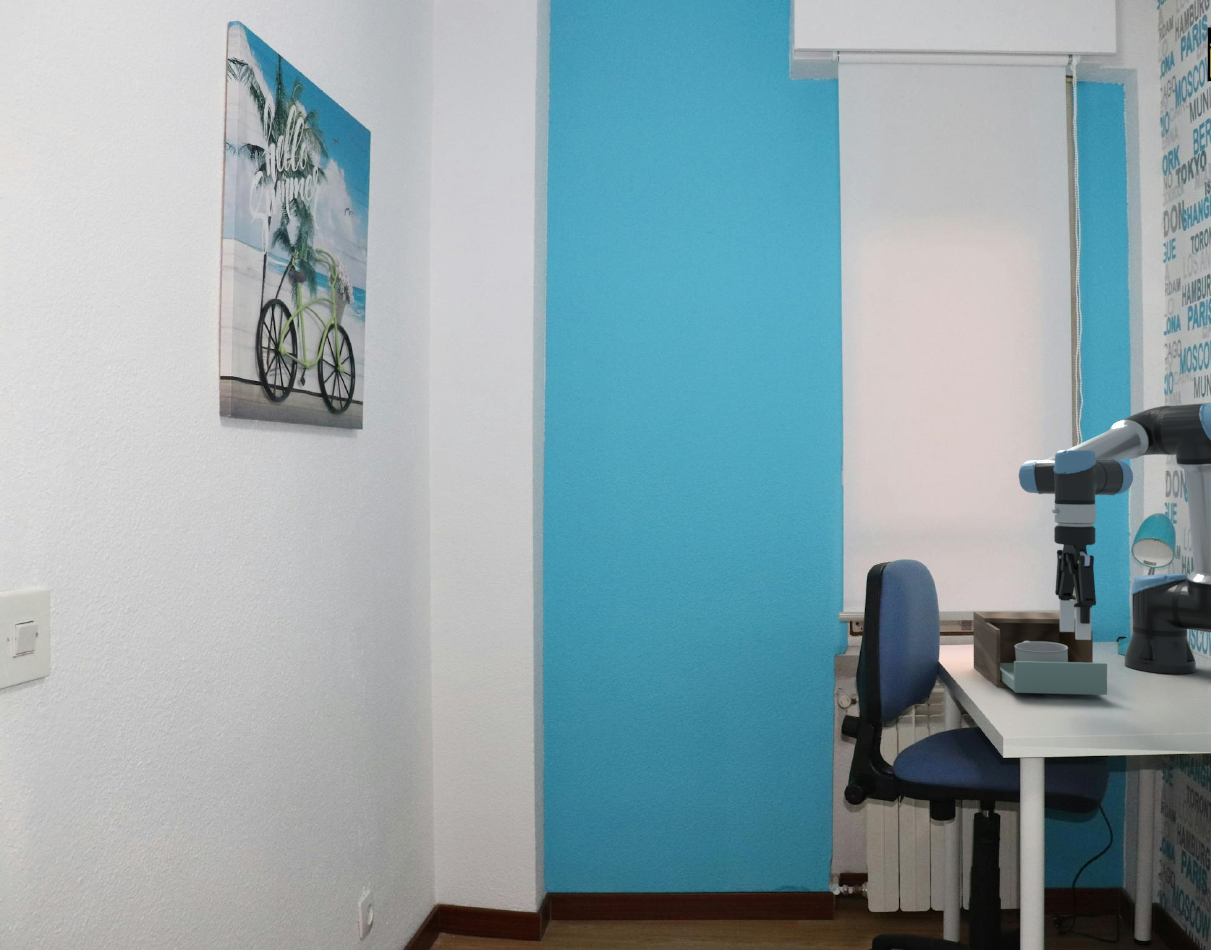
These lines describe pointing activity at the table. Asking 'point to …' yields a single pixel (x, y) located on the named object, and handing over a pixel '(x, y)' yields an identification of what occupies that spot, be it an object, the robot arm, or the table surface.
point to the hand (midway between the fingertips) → (1074, 635)
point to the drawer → (1055, 677)
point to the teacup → (1041, 652)
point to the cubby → (1019, 639)
